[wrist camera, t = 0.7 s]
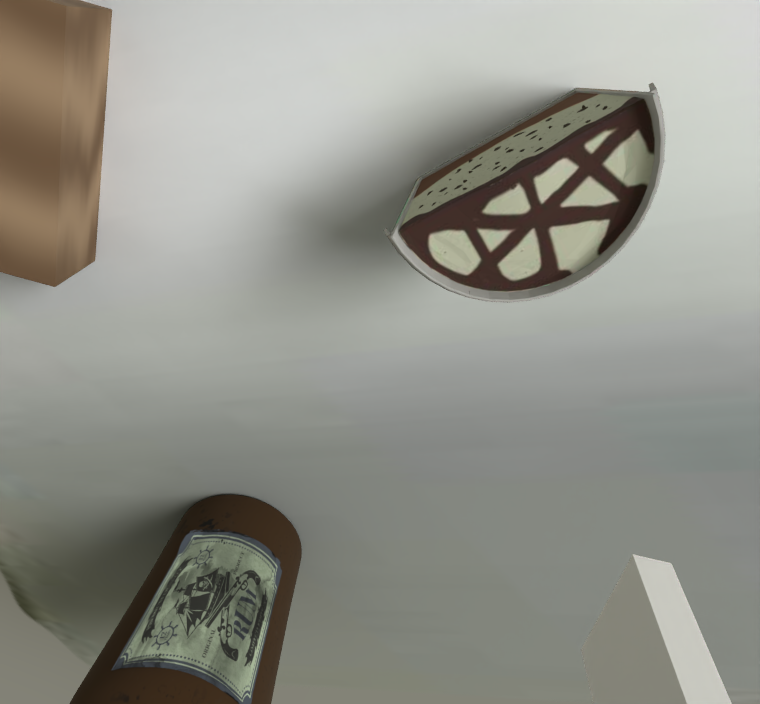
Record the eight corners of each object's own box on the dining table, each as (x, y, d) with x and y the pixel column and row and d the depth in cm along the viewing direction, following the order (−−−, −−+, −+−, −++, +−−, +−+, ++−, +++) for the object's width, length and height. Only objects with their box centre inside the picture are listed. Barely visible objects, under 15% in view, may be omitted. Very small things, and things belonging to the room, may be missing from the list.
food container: (445, 283, 38) (447, 358, 30) (394, 191, 36) (379, 242, 27) (649, 179, 35) (722, 230, 26) (606, 71, 33) (669, 86, 24)
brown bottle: (287, 611, 51) (170, 1056, 29) (158, 569, 51) (-66, 994, 28) (329, 514, 47) (228, 953, 24) (187, 466, 46) (-53, 875, 24)
